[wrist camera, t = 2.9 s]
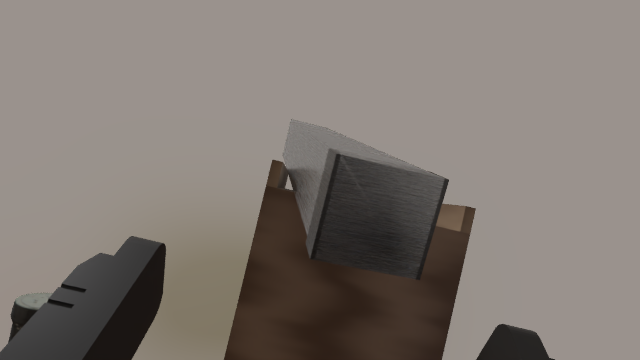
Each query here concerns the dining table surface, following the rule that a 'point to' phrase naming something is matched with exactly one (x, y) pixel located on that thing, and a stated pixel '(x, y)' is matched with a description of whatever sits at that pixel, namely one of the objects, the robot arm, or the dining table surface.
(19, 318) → the sauce bottle
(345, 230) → the steel bar
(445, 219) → the stand
